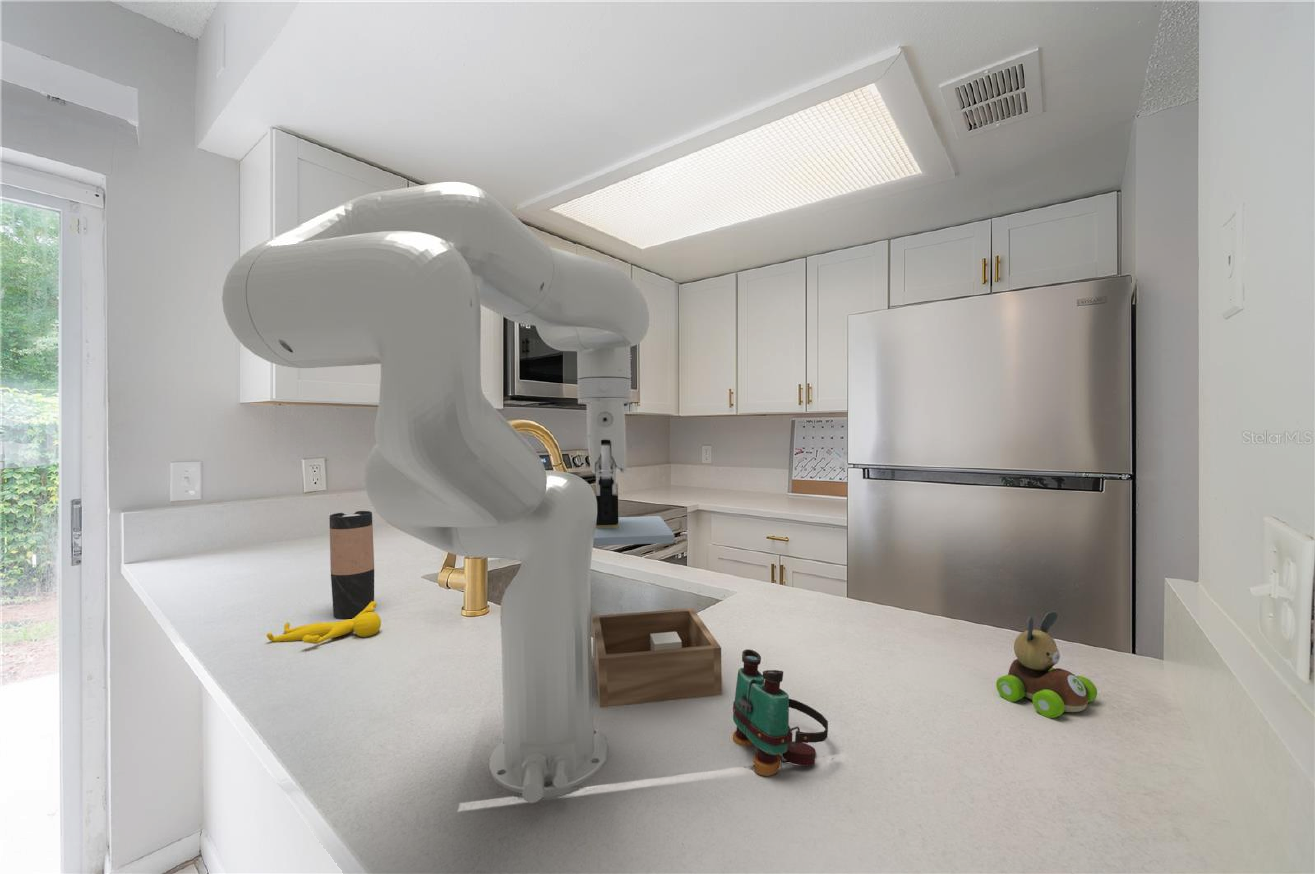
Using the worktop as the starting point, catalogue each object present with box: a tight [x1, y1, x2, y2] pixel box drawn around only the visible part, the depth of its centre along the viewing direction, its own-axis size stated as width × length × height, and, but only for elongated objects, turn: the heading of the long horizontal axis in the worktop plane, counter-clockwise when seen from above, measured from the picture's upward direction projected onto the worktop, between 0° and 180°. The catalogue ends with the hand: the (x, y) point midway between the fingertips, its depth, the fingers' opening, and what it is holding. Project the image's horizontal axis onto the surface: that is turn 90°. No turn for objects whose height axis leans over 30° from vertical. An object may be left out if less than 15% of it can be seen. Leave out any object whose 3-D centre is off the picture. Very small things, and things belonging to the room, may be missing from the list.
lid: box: [593, 482, 676, 547], centre depth 78 cm, size 17×17×7 cm
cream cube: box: [650, 632, 682, 651], centre depth 82 cm, size 4×4×4 cm
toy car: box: [995, 611, 1098, 719], centre depth 71 cm, size 9×9×11 cm
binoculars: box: [732, 648, 829, 776], centre depth 61 cm, size 9×11×10 cm
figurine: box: [266, 600, 382, 645], centre depth 98 cm, size 14×5×18 cm
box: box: [591, 607, 723, 708], centre depth 79 cm, size 16×16×7 cm
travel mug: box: [329, 510, 375, 620], centre depth 110 cm, size 8×8×20 cm
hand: (606, 521), depth 78 cm, fingers closed on lid, 3 cm apart
